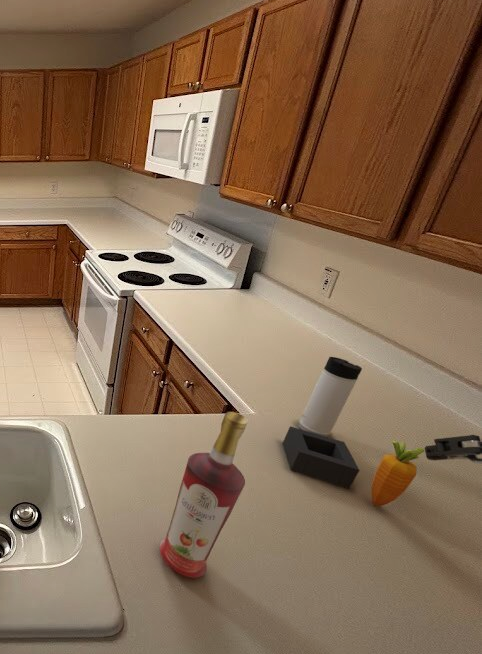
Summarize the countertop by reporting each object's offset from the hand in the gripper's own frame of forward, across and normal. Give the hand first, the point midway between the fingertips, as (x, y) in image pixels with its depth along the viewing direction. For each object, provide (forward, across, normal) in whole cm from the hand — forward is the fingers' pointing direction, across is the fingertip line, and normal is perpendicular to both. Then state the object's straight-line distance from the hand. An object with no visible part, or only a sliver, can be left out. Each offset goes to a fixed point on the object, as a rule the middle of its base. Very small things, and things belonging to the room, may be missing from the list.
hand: (457, 458), depth 68 cm
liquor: (+1, +43, +24) cm, 49 cm away
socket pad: (+25, +6, +1) cm, 26 cm away
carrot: (+18, 0, +8) cm, 19 cm away
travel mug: (+35, -1, -10) cm, 36 cm away
